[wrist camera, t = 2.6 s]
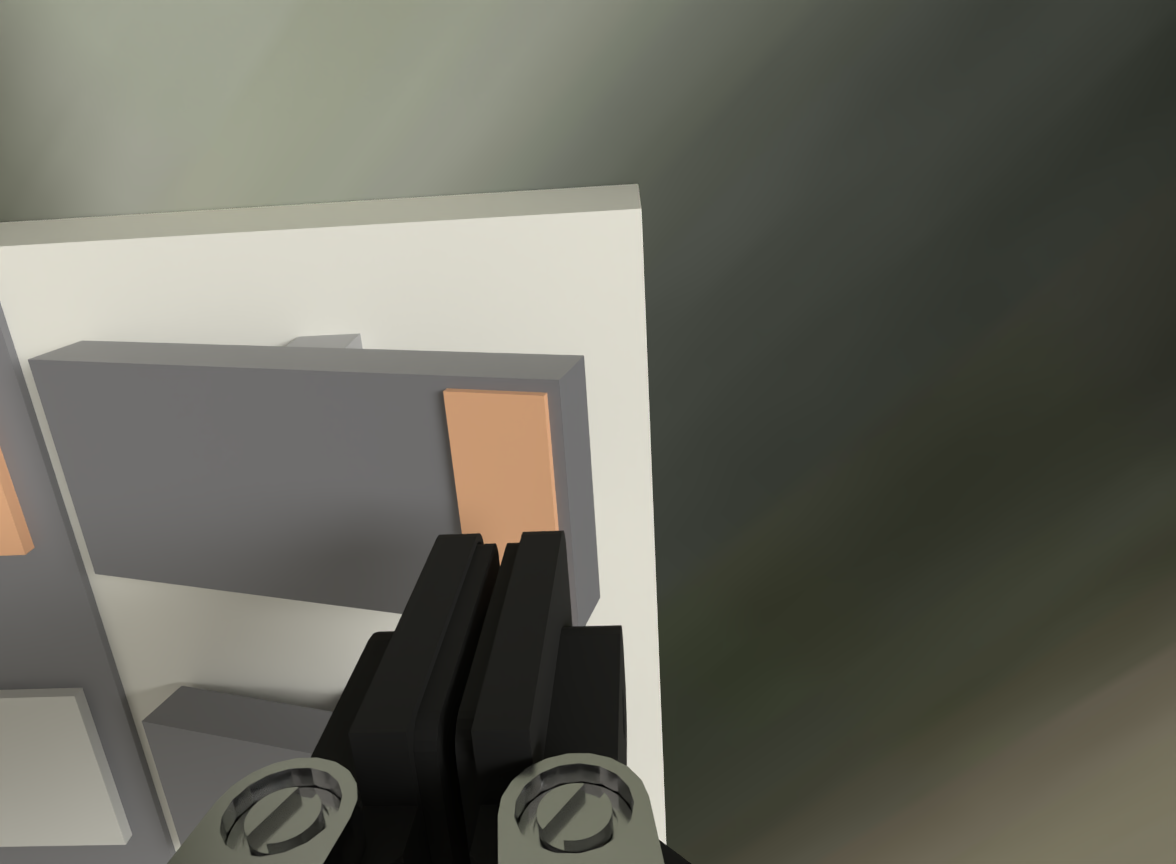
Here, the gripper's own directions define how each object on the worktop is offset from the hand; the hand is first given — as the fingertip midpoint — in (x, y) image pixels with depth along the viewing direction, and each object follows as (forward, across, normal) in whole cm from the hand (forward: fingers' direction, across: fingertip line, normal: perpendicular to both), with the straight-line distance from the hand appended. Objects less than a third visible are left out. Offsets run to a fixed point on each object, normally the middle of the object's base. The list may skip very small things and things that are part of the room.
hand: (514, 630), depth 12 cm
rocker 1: (+4, +4, -1) cm, 6 cm away
